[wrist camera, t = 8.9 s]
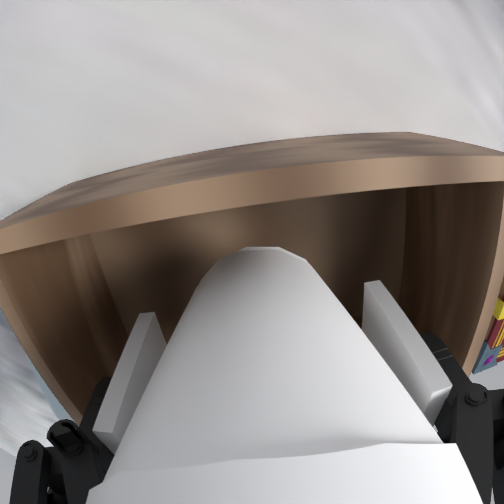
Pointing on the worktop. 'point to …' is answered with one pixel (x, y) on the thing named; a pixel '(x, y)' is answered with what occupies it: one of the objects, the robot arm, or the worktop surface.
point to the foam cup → (277, 404)
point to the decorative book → (493, 338)
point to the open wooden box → (255, 242)
